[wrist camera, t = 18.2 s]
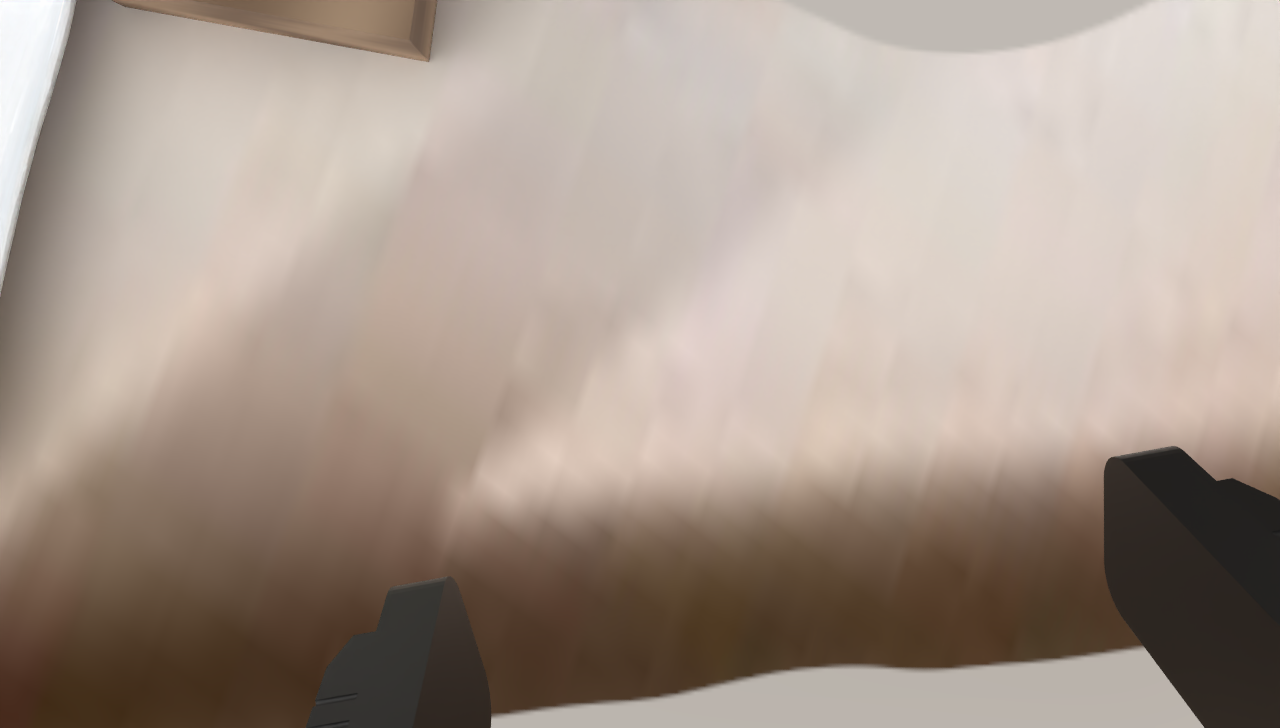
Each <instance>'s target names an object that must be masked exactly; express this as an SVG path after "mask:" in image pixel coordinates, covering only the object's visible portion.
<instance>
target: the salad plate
mask: <svg viewBox="0 0 1280 728" xmlns="http://www.w3.org/2000/svg"><path fill="white" fill-rule="evenodd" d="M76 1H77V0H0V295H1V291H2V286H3V281H4V277H5V272H6V268H7V263H8V259H9V254H10V250H11V246H12V241H13V237H14V233H15V228H16V224H17V219H18V215H19V211H20V206H21V202H22V198H23V194H24V190H25V186H26V182H27V178H28V175H29V171H30V168H31V164H32V160H33V157H34V153H35V150H36V146H37V142H38V139H39V135H40V132H41V129H42V125H43V122H44V119H45V116H46V113H47V110H48V106H49V103H50V100H51V97H52V93H53V90H54V86H55V83H56V80H57V76H58V73H59V70H60V66H61V62H62V58H63V55H64V52H65V48H66V45H67V41H68V38H69V34H70V29H71V25H72V20H73V15H74V11H75V6H76Z"/></svg>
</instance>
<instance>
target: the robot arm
mask: <svg viewBox="0 0 1280 728" xmlns="http://www.w3.org/2000/svg"><path fill="white" fill-rule="evenodd" d="M1104 564H1105V574H1106V579H1107V583H1108V587H1109V590H1110V593H1111V596H1112V598H1113V601H1114V603H1115V605H1116V607H1117V609H1118V611H1119V613H1120V614H1121V616H1122V617H1123V619H1124V620H1125V622H1126V623H1127V624H1128V626H1129V627H1130V628H1131V630H1132V631H1133V632H1134V634H1135V635H1136V636H1137V638H1138V639H1139V640H1140V642H1141V643H1142V644H1143V646H1144V647H1145V648H1146V650H1147V651H1148V652H1149V653H1150V655H1151V656H1152V658H1153V659H1154V660H1155V662H1156V663H1157V665H1158V666H1159V667H1160V669H1161V670H1162V671H1163V673H1164V674H1165V675H1166V677H1167V678H1168V679H1169V681H1170V682H1171V683H1172V685H1173V686H1174V687H1175V689H1176V690H1177V691H1178V693H1179V694H1180V695H1181V697H1182V698H1183V699H1184V701H1185V702H1186V703H1187V705H1188V706H1189V707H1190V709H1191V710H1192V712H1193V713H1194V714H1195V716H1196V717H1197V718H1198V719H1199V721H1200V722H1201V724H1202V725H1203V726H1204V728H1280V500H1278V499H1277V498H1275V497H1273V496H1271V495H1269V494H1266V493H1264V492H1262V491H1260V490H1257V489H1255V488H1253V487H1251V486H1249V485H1246V484H1244V483H1242V482H1240V481H1237V480H1235V479H1233V478H1231V479H1226V480H1220V481H1216V480H1215V479H1214V478H1212V477H1211V476H1210V475H1209V474H1208V473H1207V472H1206V471H1205V470H1204V469H1203V468H1202V467H1201V466H1199V465H1198V464H1197V463H1196V462H1195V461H1194V460H1193V459H1192V458H1191V457H1190V456H1189V455H1188V454H1186V453H1185V452H1184V451H1183V450H1182V449H1180V448H1178V447H1176V446H1171V447H1165V448H1160V449H1154V450H1149V451H1143V452H1138V453H1132V454H1127V455H1121V456H1116V457H1111V458H1110V459H1108V461H1107V463H1106V466H1105V470H1104ZM315 701H316V706H315V707H313V708H312V711H311V714H310V717H309V720H308V723H307V725H306V728H491V702H490V693H489V687H488V681H487V677H486V673H485V670H484V666H483V663H482V660H481V657H480V654H479V651H478V647H477V644H476V641H475V638H474V635H473V632H472V629H471V625H470V622H469V619H468V616H467V613H466V610H465V606H464V603H463V600H462V597H461V594H460V591H459V588H458V586H457V584H456V582H455V580H454V579H453V578H452V577H451V576H449V577H443V578H438V579H432V580H427V581H421V582H416V583H410V584H405V585H399V586H394V587H392V588H390V590H389V591H388V594H387V597H386V600H385V604H384V607H383V610H382V614H381V617H380V620H379V624H378V627H377V630H376V631H375V632H370V633H364V634H359V635H354V636H353V637H352V638H351V639H350V640H349V641H348V643H347V644H346V645H345V646H344V647H343V649H342V650H341V651H340V652H339V653H338V655H337V656H336V657H335V658H334V659H333V661H332V662H331V663H330V664H329V665H328V666H327V668H326V671H325V674H324V677H323V680H322V683H321V685H320V688H319V691H318V694H317V697H316V700H315Z"/></svg>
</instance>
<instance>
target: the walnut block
mask: <svg viewBox="0 0 1280 728" xmlns="http://www.w3.org/2000/svg"><path fill="white" fill-rule="evenodd" d="M112 1H114V2H116V3H118V4H121V5H123V6H125V7H129V8H135V9H140V10H146V11H151V12H157V13H162V14H168V15H173V16H179V17H184V18H190V19H195V20H201V21H206V22H212V23H217V24H223V25H228V26H234V27H239V28H245V29H250V30H256V31H261V32H267V33H272V34H278V35H283V36H289V37H294V38H300V39H305V40H311V41H316V42H322V43H327V44H333V45H338V46H344V47H349V48H355V49H360V50H366V51H371V52H377V53H382V54H388V55H393V56H399V57H404V58H410V59H415V60H421V61H426V62H429V57H430V50H431V42H432V35H433V28H434V21H435V14H436V7H437V0H112Z"/></svg>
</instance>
